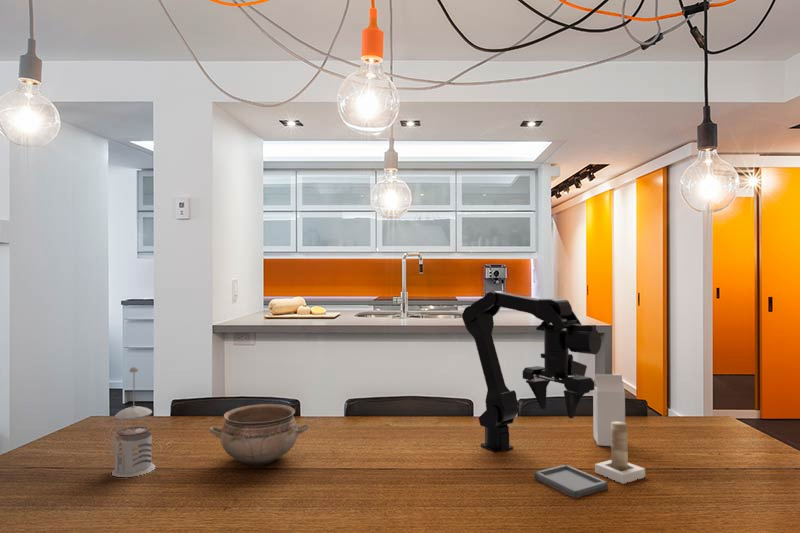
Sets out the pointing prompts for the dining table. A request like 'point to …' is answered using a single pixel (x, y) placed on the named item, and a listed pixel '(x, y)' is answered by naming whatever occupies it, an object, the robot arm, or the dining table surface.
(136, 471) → the french press
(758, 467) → the dining table surface
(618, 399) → the milk carton
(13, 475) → the dining table surface
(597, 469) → the socket
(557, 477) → the tray
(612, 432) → the dowel
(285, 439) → the cooking pot
